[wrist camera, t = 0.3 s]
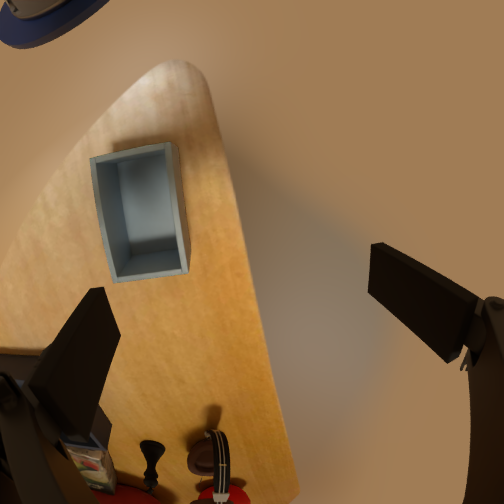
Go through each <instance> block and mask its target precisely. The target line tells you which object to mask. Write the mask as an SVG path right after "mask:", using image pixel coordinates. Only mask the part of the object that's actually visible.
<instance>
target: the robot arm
mask: <svg viewBox="0 0 504 504" xmlns="http://www.w3.org/2000/svg"><path fill="white" fill-rule="evenodd" d="M70 1H71V0H5V2H6V3H7V5H8V6H9V8H10V11H11V12H12V14H13V15H14V16H15V17H17V18H18V19H20V20H22V21H32V20H36V19H39V18H42V17H44V16H47V15H49V14H51V13H53V12H54V11H56V10H58V9H59V8H61V7H63V6H64V5H66V4H67V3H69V2H70ZM368 293H369V294H370V295H371V296H372V297H374V298H375V299H376V300H377V301H378V302H379V303H381V304H382V305H383V306H384V307H385V308H386V309H387V310H389V311H390V312H391V313H392V314H393V315H394V316H395V317H397V318H398V319H399V320H400V321H401V322H402V323H403V324H405V325H406V326H407V327H408V328H409V329H410V330H411V331H412V332H413V333H415V334H416V335H417V336H418V337H419V338H420V339H421V340H422V341H423V342H425V343H426V344H427V345H428V346H429V347H430V348H431V349H432V350H433V351H434V352H435V353H436V354H437V355H438V356H439V357H441V358H442V359H443V360H444V361H445V362H446V363H447V364H448V363H450V362H451V361H453V360H454V359H456V358H458V357H459V355H460V353H461V350H462V348H463V345H465V346H466V347H468V350H467V353H466V355H465V357H464V360H463V362H462V364H461V367H460V371H462V370H463V367H464V365H466V364H467V367H466V370H465V371H468V380H469V392H470V411H471V412H470V416H471V433H470V456H469V467H468V476H467V484H466V490H465V497H464V500H463V503H462V504H504V299H501V298H499V297H487V298H486V299H485V300H482V299H481V298H479V297H478V296H476V295H475V294H473V293H471V292H470V291H468V290H467V289H465V288H463V287H462V286H460V285H458V284H457V283H455V282H453V281H452V280H450V279H448V278H447V277H445V276H443V275H441V274H440V273H438V272H436V271H434V270H433V269H431V268H429V267H427V266H426V265H424V264H422V263H420V262H418V261H416V260H415V259H413V258H411V257H409V256H407V255H406V254H404V253H402V252H400V251H398V250H396V249H394V248H392V247H390V246H389V245H387V244H384V243H383V242H382V243H376V244H371V253H370V272H369V283H368ZM120 337H121V334H120V331H119V329H118V326H117V324H116V321H115V318H114V315H113V313H112V310H111V307H110V304H109V301H108V298H107V295H106V292H105V289H104V287H97V288H90V289H89V291H88V292H87V293H86V295H85V296H84V297H83V299H82V300H81V302H80V303H79V304H78V306H77V307H76V309H75V310H74V311H73V313H72V314H71V316H70V317H69V319H68V320H67V321H66V323H65V324H64V326H63V327H62V329H61V330H60V332H59V333H58V335H57V336H56V338H55V340H54V341H53V343H52V344H50V345H49V346H48V347H47V348H45V349H44V350H43V351H42V353H41V354H40V356H39V358H38V359H37V360H38V361H36V362H35V364H34V366H33V368H32V369H31V371H30V372H29V374H28V376H27V378H26V379H25V381H24V383H23V385H22V386H21V388H20V387H19V386H18V384H17V383H16V381H15V380H14V378H13V377H12V375H11V373H10V372H9V371H7V370H0V504H100V503H99V501H98V500H97V498H96V497H95V495H94V494H93V492H92V491H91V489H90V488H89V486H88V485H87V483H86V481H85V480H84V478H83V477H82V475H81V473H80V472H79V470H78V468H77V466H76V465H75V463H74V461H73V459H72V457H71V455H70V454H69V452H68V450H67V448H66V446H65V444H64V443H63V441H62V440H61V439H60V435H61V432H62V431H63V432H64V434H65V435H66V436H67V437H68V438H69V439H70V440H71V441H77V442H85V443H88V441H89V437H90V433H91V429H92V425H93V421H94V418H95V414H96V410H97V407H98V403H99V400H100V397H101V393H102V390H103V387H104V384H105V380H106V377H107V374H108V371H109V368H110V365H111V362H112V359H113V356H114V354H115V351H116V348H117V345H118V342H119V340H120Z"/></svg>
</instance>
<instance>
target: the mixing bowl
mask: <svg viewBox="0 0 504 504" xmlns="http://www.w3.org/2000/svg"><path fill="white" fill-rule="evenodd" d="M91 491H92V492H93V494H94V495H95V497H96V498H97V500H98V501H99V503H100V504H161V503H160V502H159V501H158V500H157V499H155V498H154V497H152V496H151V495H150V494H148V493H147V492H145V491H142V490H139V489H137V488H134V487H130V486H126V485H122V484H116V489H115V495H108V494H106V493H101V492H98V491H94V490H91Z"/></svg>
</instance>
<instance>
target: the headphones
mask: <svg viewBox="0 0 504 504" xmlns="http://www.w3.org/2000/svg"><path fill="white" fill-rule="evenodd" d="M205 436H206V437H207V439H206V440H202V441H200V442H198V443H197V444H196V445H195V446H194V447H193V448H192V449H191V451H190V452H189V455H188V458H187V464H188V469H189V470H190V471H191V472H192V473H194V474H196V475H200V476H214V478H213V484H214V491H213V492H212V493H213V498H205V499H198V500H195V501H192V502H191V503H190V504H234V503H233V501H231V500H229V499H228V497H229V495H230V494H229V492H228V490H229V485H230V453H229V446H228V441H227V438H226V435H225V434H224V433H223V432H221V431H220V430H209V431H205ZM209 437H210V439H211V440H209V439H208V438H209ZM201 480H202V478H201ZM200 482H201V481H200ZM199 486H200V484H199Z"/></svg>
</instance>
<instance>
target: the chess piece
mask: <svg viewBox="0 0 504 504" xmlns="http://www.w3.org/2000/svg"><path fill="white" fill-rule="evenodd" d="M140 448H141V451H142V453H143V454H144V457H145V459H146V461H147V469H146V471H145V472H144V476H145V478H144V484H145V485H146V486H147V487H149V490H147V492H148V493H149V494H152V492H153V491H154V490H152V488H155V487H156V486H157V485H158V481H157V478H158V474H157V472H156V469H155V467H156V463H157V462H158V460H159V459H160V457H161V456H162V455H163V453H164V452H165V447H164V446H163V445H162V444H160V443H158V442H154V441H143V442H141V443H140Z"/></svg>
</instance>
